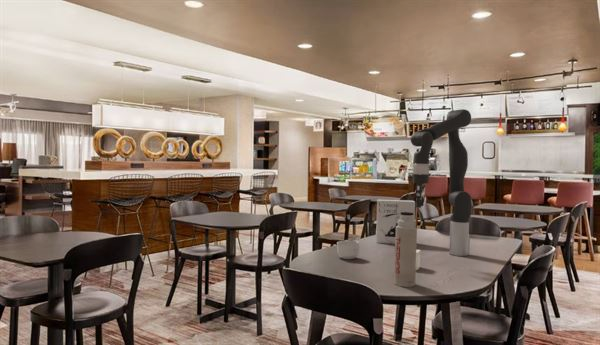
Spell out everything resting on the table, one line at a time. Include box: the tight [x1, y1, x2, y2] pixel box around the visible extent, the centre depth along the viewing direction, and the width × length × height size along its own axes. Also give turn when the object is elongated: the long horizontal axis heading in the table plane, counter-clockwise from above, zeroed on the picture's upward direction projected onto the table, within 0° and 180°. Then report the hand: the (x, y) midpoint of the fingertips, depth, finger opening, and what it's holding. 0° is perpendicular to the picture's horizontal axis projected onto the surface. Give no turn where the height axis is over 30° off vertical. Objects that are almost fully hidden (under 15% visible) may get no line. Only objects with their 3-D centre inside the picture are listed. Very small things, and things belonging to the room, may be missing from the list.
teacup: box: [336, 239, 360, 260], centre depth 223 cm, size 14×11×8 cm
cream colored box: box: [416, 249, 421, 271], centre depth 204 cm, size 7×7×8 cm
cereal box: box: [375, 199, 416, 245], centre depth 268 cm, size 22×8×25 cm, turn 81°
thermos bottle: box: [393, 212, 418, 288], centre depth 176 cm, size 8×8×28 cm
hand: (419, 206), depth 219 cm, fingers open, 8 cm apart
